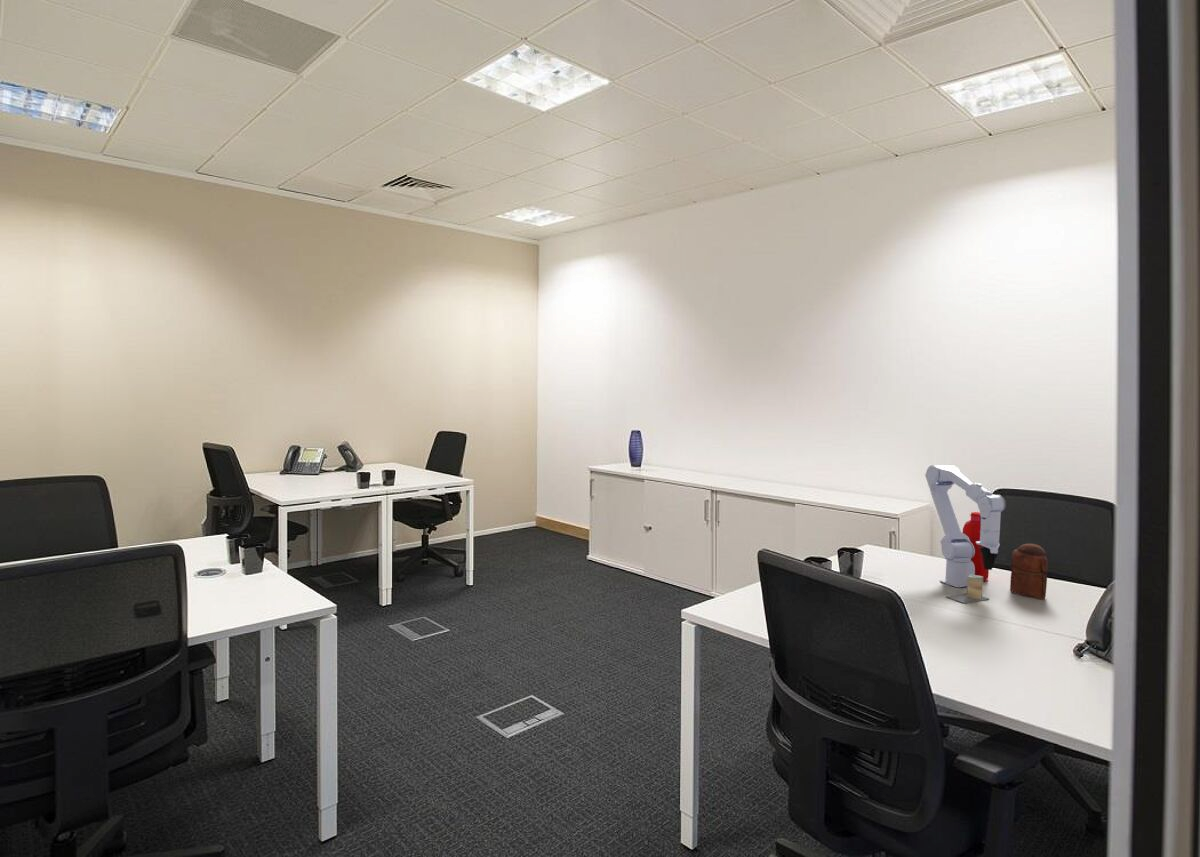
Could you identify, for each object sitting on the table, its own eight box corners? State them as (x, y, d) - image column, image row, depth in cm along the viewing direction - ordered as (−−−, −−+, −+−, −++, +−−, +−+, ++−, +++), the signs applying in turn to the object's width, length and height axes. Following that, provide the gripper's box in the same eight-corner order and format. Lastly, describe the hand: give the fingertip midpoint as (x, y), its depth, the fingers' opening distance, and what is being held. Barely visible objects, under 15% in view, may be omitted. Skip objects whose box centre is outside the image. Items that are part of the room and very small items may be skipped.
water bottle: (993, 584, 247) (997, 516, 245) (959, 579, 253) (962, 513, 251) (993, 578, 255) (997, 512, 253) (961, 573, 260) (964, 509, 259)
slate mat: (970, 593, 236) (970, 592, 236) (989, 599, 229) (989, 598, 229) (945, 597, 231) (945, 596, 231) (963, 603, 225) (963, 602, 225)
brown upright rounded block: (1050, 597, 233) (1054, 545, 231) (1044, 601, 229) (1047, 548, 227) (1013, 588, 242) (1015, 539, 241) (1005, 592, 238) (1008, 541, 237)
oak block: (969, 594, 234) (970, 574, 233) (982, 596, 231) (983, 576, 231) (967, 597, 231) (968, 576, 230) (980, 599, 228) (981, 579, 228)
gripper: (972, 525, 239) (970, 562, 240) (981, 533, 226) (979, 573, 227) (994, 526, 237) (992, 564, 238) (1005, 535, 223) (1003, 575, 224)
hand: (987, 569), depth 232 cm, fingers closed
